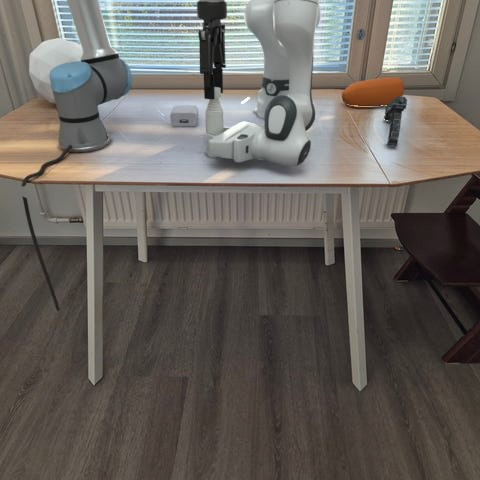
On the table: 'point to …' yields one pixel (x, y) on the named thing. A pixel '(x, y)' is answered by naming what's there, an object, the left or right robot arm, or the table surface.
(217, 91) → the cap
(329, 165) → the table surface
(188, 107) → the charger
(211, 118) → the bottle
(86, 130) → the left robot arm
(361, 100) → the clog
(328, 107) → the table surface
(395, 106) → the futuristic handgun
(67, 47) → the decorative sphere
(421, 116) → the table surface
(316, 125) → the table surface
